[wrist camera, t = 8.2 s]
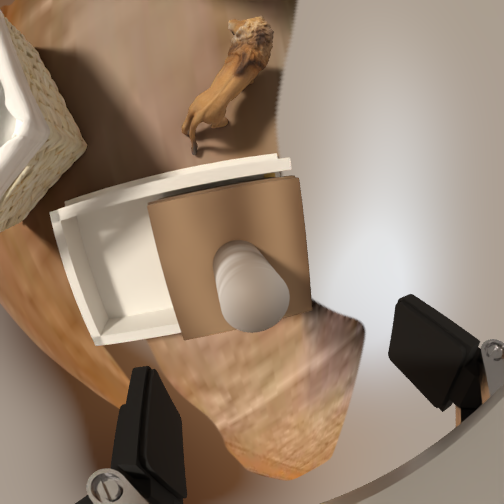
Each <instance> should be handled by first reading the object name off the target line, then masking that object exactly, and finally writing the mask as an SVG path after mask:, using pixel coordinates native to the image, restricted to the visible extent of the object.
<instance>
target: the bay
mask: <svg viewBox="0 0 504 504" xmlns="http://www.w3.org/2000/svg"><path fill="white" fill-rule="evenodd" d="M285 170H291V162H290V158H281V159H278V158H277V153H276V154H268V155H260V156H253V157H246V158H240V159H233V160H227V161H221V162H216V163H210V164H205V165H199V166H194V167H189V168H185V169H180V170H175V171H171V172H166V173H162V174H158V175H153V176H149V177H145V178H141V179H137V180H134V181H130V182H126V183H122V184H119V185H115V186H112V187H108V188H105V189H102V190H98V191H95V192H92V193H89V194H85V195H82V196H79V197H76V198H73V199H70V200H67V201H64V202H65V207H63V208H60V209H58V210H55V211H52V212H49V213H50V218H51V222H52V226H53V230H54V234H55V238H56V242H57V245H58V249H59V252H60V256H61V259H62V262H63V265H64V268H65V271H66V274H67V277H68V280H69V283H70V286H71V289H72V291H73V294H74V297H75V299H76V302H77V304H78V307H79V309H80V312H81V314H82V316H83V319H84V321H85V323H86V326H87V328H88V330H89V332H90V334H91V337H92V339H93V341H94V343H95V345H96V346H99V345H107V344H114V343H122V342H128V341H135V340H141V339H147V338H153V337H159V336H165V335H171V334H176V333H181V330H180V327H179V324H178V321H177V318H176V315H175V311H174V308H173V305H172V302H171V299H170V295H169V292H168V288H167V285H166V281H165V278H164V274H163V271H162V267H161V263H160V260H159V256H158V252H157V248H156V244H155V240H154V236H153V231H152V227H151V223H150V218H149V214H148V209H147V206H148V203H149V202H151V201H156V200H158V199H160V198H163V197H167V196H171V195H176V194H180V193H185V192H190V191H195V190H200V189H205V188H210V187H215V186H220V185H226V184H231V183H237V182H243V181H249V180H255V179H261V178H268V177H280V171H285Z"/></svg>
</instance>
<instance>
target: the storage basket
mask: <svg viewBox="0 0 504 504" xmlns="http://www.w3.org/2000/svg"><path fill="white" fill-rule="evenodd" d="M86 148H87V144H86V142H85V141H84V139H83V138H82V136H81V134H80V130H79V128H78V126H77V125H76V123H75V122H74V119H73V117H72V115H71V114H70V113H69V111H68V109H67V108H66V103H65V100H64V98H63V97H62V95H61V94H60V93H59V92H58V88H57V86H56V84H55V82H54V81H53V79H51V75H50V73H49V71H48V70H47V69H46V68H45V66H44V64H43V62H42V60H41V59H40V56H39V53H38V51H37V50H35V48H34V47H33V46H32V45H31V44H30V43H29V42H28V41H27V40H25V37H24V35H22V34H21V33H20V31H18V30H16V28H15V27H14V26H13V25H12V24H11V23H10V22H8V19H7V18H5V17H4V15H3V13H2V11H1V10H0V232H2V231H4V230H5V229H8V228H10V227H12V226H14V225H16V224H18V223H20V222H21V221H22V220H24V219H25V218H26V217H27V215H28V214H29V213H30V211H31V210H32V209H33V208H34V207H35V206H36V204H37V203H38V201H39V200H40V199H42V198H43V196H44V195H45V194H46V193H47V191H48V189H49V188H51V187H52V186H53V185H54V184H55V183H56V182H57V181H58V180H59V178H60V177H61V175H62V174H63V173H64V172H65V171H67V170H68V169H69V168H70V167H71V166H72V164H73V163H74V162H75V161H76V160H77V159H78V158H79V157H80V156H81V155H82V154H83V153H84V152H85V150H86Z"/></svg>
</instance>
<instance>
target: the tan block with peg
mask: <svg viewBox="0 0 504 504" xmlns="http://www.w3.org/2000/svg"><path fill="white" fill-rule="evenodd" d="M147 209H148V214H149V218H150V223H151V227H152V231H153V236H154V240H155V244H156V248H157V252H158V256H159V260H160V263H161V267H162V271H163V274H164V278H165V281H166V285H167V288H168V292H169V295H170V299H171V302H172V305H173V308H174V311H175V315H176V318H177V321H178V324H179V327H180V330H181V333H182V336H183V339H184V340H189V339H194V338H199V337H204V336H209V335H214V334H218V333H223V332H228V331H232V330H240V331H243V332H252V333H253V332H260V331H264V330H266V329H269V328H271V327H272V326H274V325H275V324H277V323H278V322H279V321H280V320H281V319H282V318H285V317H289V316H293V315H296V314H300V313H304V312H307V311H311V310H312V301H311V287H310V275H309V264H308V252H307V242H306V232H305V223H304V215H303V205H302V197H301V190H300V182H299V178H295V176H284V177H268V178H261V179H255V180H249V181H243V182H237V183H231V184H226V185H220V186H215V187H210V188H205V189H200V190H195V191H190V192H185V193H180V194H176V195H171V196H167V197H163V198H160V199H158V200H156V201H151V202H149V203H148V206H147Z"/></svg>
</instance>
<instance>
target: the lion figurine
mask: <svg viewBox="0 0 504 504" xmlns="http://www.w3.org/2000/svg"><path fill="white" fill-rule="evenodd" d="M228 24H229V26H228V28H229V30H230V31H231V32H232V33H233V35H234V37H233V38H232V40H231V43H232V45H231V47H230V49H229V52H228V57H227V59H226V60H225V64H224V66H223V68H222V69H221V70H220V71H219V73H218V74H217V76H216V78H215V79H214V81H213V83H212V85H211V87H210V88H209V89H208V90H206V91H205V92H203V93H202V94H200V95H199V96H197V97H196V99H195V100H194V102H193V103H192V104H191V105H190V107H189V111H188V115H187V118H186V120H185V122H184V123H183V125H182V133H183V134H185V135H187V134H189V136H190V139H191V143H192V147H191V150H192V154H193V155H196V152H197V147H198V146H197V143H196V139H195V131H196V128H197V126H198V124H199V123H201V122H205V123H207V124H211V127H212V128H217V127H224V126H226V125H227V123H228V119H227V118H226V117H224V116H225V113H226V107H227V105H228V103H229V102H230V101H232V100H233V99H234V98H236V97H237V96H238V95H239V93H240V92H241V91H242V90H243V89H244V88H245V87H246V86H247V85H248V84H252V83H253V82H254V80H253V79H254V78H255V77H256V76H257V74H258V73H259V71H261V70H263V69H264V68H265V67H266V65H267V63H268V61H269V58H270V51H271V49H272V47H273V46H272V42H273V40H272V39H273V33H274V31H273V30H272V29H271V27H270V25H269V24H268V23H267V22H266V21H265V20H264V19H263V17H262V16H260V17H255V18H250V19H247V20H243V21H238V20H236V19H233V20H230V21H229V22H228Z"/></svg>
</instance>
